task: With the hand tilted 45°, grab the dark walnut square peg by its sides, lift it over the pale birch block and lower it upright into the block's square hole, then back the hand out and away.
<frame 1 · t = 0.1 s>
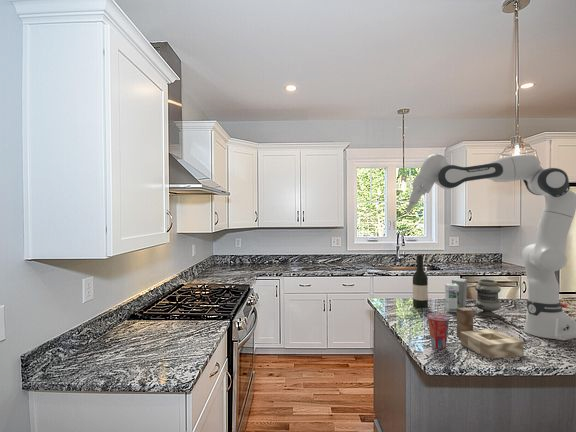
hand: (407, 211, 171), 54 cm above the table, tool tilted 30°, fingers open, 8 cm apart
socket block: (490, 349, 137), on the table
wine bottle: (420, 306, 204), on the table
walnut peg: (464, 337, 151), on the table
syrup box: (452, 311, 193), on the table
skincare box: (459, 307, 201), on the table
cup: (437, 347, 141), on the table
grey ceramic vase: (487, 315, 184), on the table
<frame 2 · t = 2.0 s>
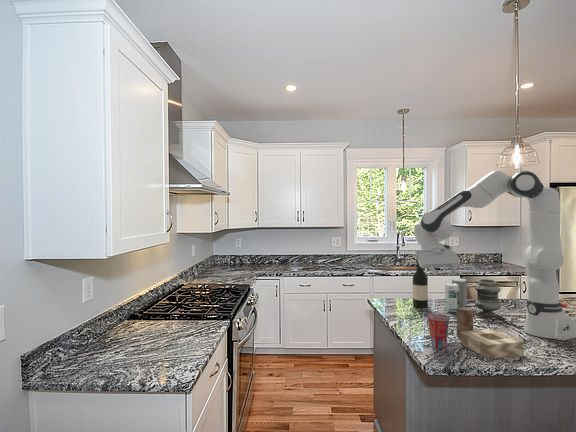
hand: (445, 273, 164), 25 cm above the table, tool tilted 45°, fingers open, 8 cm apart
nothing on the table moved.
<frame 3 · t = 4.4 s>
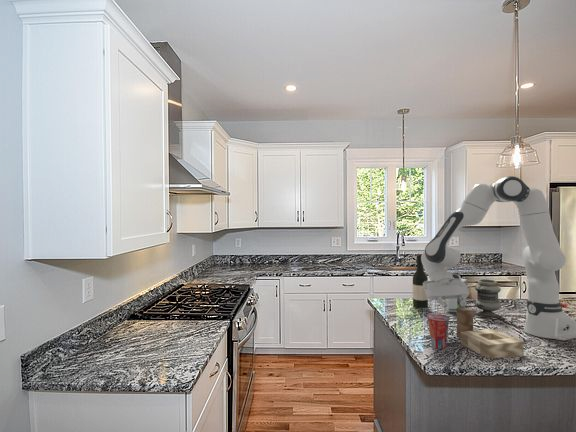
hand: (455, 306, 158), 12 cm above the table, tool tilted 45°, fingers open, 8 cm apart
nothing on the table moved.
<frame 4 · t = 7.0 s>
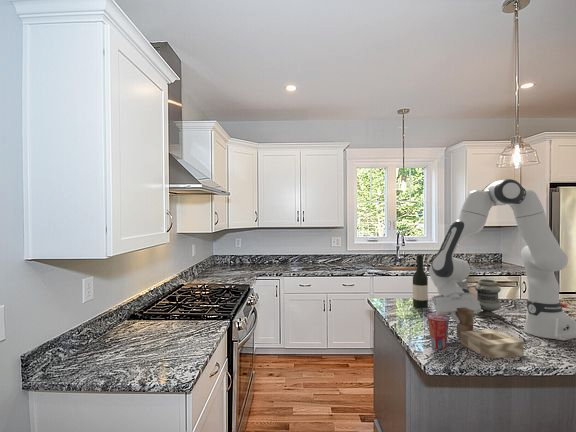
hand: (465, 322, 151), 6 cm above the table, tool tilted 45°, fingers closed on walnut peg, 4 cm apart
walnut peg: (464, 337, 151), on the table, touching gripper
everything else where it was.
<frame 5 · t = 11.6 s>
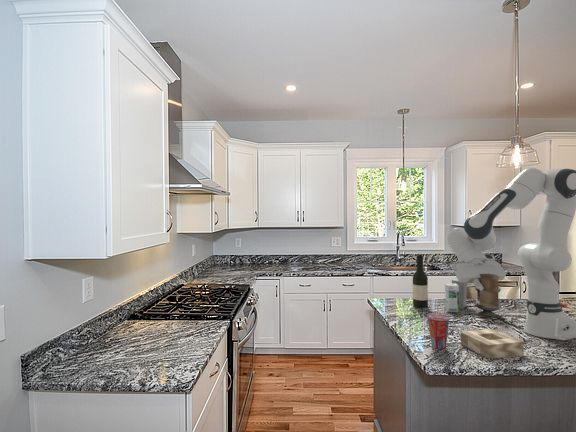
hand: (490, 289, 137), 23 cm above the table, tool tilted 45°, fingers closed on walnut peg, 4 cm apart
walnut peg: (489, 305, 138), point 17 cm above the table, touching gripper
everything else where it was.
when the fingers open (8 cm above the table, at t = 16.3 s): walnut peg drops 2 cm, resting in socket block.
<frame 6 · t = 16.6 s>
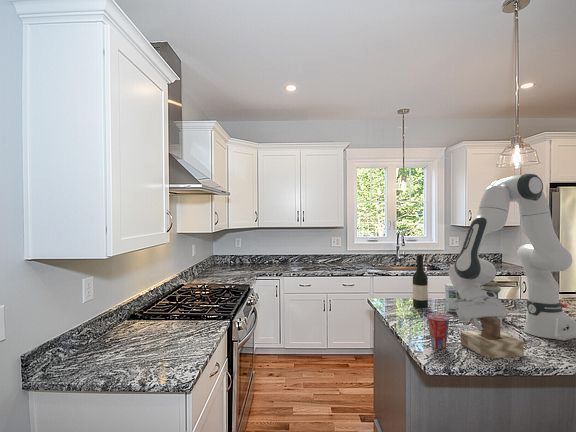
hand: (491, 329, 137), 8 cm above the table, tool tilted 45°, fingers open, 7 cm apart
walnut peg: (490, 349, 137), resting in socket block
everything else where it was.
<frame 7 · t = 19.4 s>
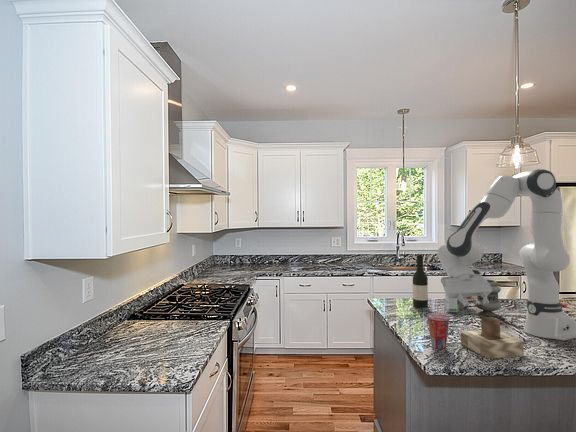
hand: (476, 304, 144), 16 cm above the table, tool tilted 45°, fingers open, 8 cm apart
nothing on the table moved.
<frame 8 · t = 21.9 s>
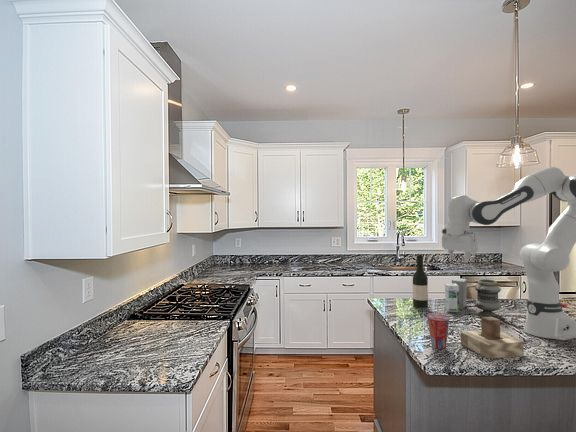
hand: (459, 260, 163), 31 cm above the table, tool pointing down, fingers open, 8 cm apart
nothing on the table moved.
at the end: walnut peg 0.0 cm off-centre on the socket block, point 0.0 cm above the socket block's base; walnut peg tilted 0°; the gripper is holding nothing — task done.
